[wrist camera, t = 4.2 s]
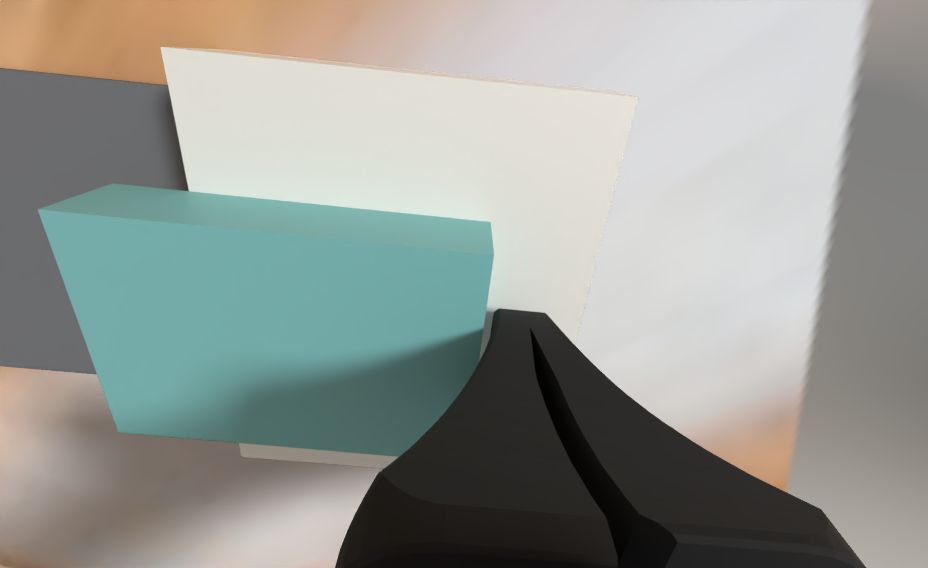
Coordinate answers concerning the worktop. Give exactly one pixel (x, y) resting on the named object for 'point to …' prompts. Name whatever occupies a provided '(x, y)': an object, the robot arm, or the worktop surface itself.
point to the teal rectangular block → (272, 315)
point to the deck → (413, 164)
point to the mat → (67, 192)
